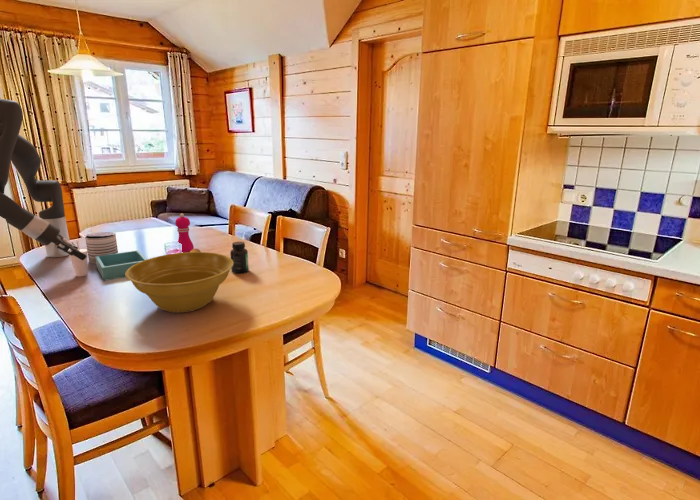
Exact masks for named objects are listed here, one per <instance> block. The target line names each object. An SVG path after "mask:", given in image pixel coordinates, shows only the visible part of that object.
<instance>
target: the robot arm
mask: <svg viewBox="0 0 700 500" xmlns="http://www.w3.org/2000/svg"><path fill="white" fill-rule="evenodd" d="M23 114H24V113H23V109H22V106H21V105H20V104H19V103H18V102H17V101H16V100H12V99H5V98H0V218H3V219H5V220H4V221H5V222H6V223H7V224H8V225H11V226H12V227H14V228H15V229H17V230H19V231H20V232H22V233H24V235H26V236H28V237H29V238H31V239H32V240H34V241H36V242H38V243H40V244H42V245H43V246H45V247H44V249H45V252H46V257H48V258H61V257H67V256H70V255H71V256H72V255H74V256H76V257H77V258H79V259H81V260H84V259H85V258H86V257H87V258H88V255H87V256H86V255H85V254H83V253H81V252H80V251H78V250H77V249H78V247H77V246H76V244H74V242H72V241H71V239H70V237H69V231H68V225H67V220H66V214H65V205H64V198H63V197H64V196H63V188H62V185H61V183H60V182H59V181H58V180H56V179H55V180H52V179H48V180H46V179H44V180H43V179H42V180H39V179H37V177H36V175H37V173H38V171H39V169H40V167H41V165H42V159H41V157H40V155H39V153H38V150H37V149H36V147H35V146H34V144H32V143H31V142H30V141H29V140H28V139H26V138H25V137H23V136H22V135H20V131H21V128H22V124H23V118H24V115H23ZM11 163H12V165H13V166H14V168H15V169H16V170H17V173H19V175H20V177H21V179H22V182H23V183H24V185H25V186H26V189H27V192H28V193H29V195H30V197H31V198H32V200H33V201H35V202H37V203H50V202H51V203H52V204H51V206H50V207H47V208H44V209H42V210H40V211H39V212H38V216H37V215H35V214H34V213H33V212H31V211H29V210H27V209H26V208H24V207H23V206H21V205H20V204H18V202H16V201H15V200H14V199H12V198H11V197H9V196H8V195H7V194H5V188H6V185H7V184H8V181H9V177H10V176H9V175H10V168H11ZM79 249H81V248H80V247H79ZM71 250H72V251H71ZM70 251H71V252H70ZM68 254H70V255H68Z"/></svg>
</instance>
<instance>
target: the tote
mask: <svg viewBox="0 0 700 500" xmlns="http://www.w3.org/2000/svg"><path fill="white" fill-rule="evenodd" d="M95 257H96V263H97V264H96V263H95V264H96V269H97V270H98V272H99V274H100V275H101V277H102V279H103V280H104V281H108V280H115V279H121V278H126V276H125V273H126V271H127V270H128V269H129V268H130V267H131V266H133V265H135V264H137V263H139V262H141V261H144V260H147V259H148V258H146V256H144V254H143V253H142V252H141V251H140V250H138V249H137V250H130V251H123V252H122V251H121V252H118V253H115V254H108V255H101V256H95Z"/></svg>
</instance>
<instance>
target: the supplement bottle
mask: <svg viewBox="0 0 700 500" xmlns="http://www.w3.org/2000/svg"><path fill="white" fill-rule="evenodd" d="M245 244H246V243H245V242H244V241H233V242H232V243H231V245H232V246H231V247H232V249H231V250H230V251H229V253H230V257H229V258H231V259H232V260H233V262H234V265H233V267H232V268H231V269H230V270H231V273H232V274H235V275H236V274H237V275H242V274H247V273H248V272H249V269H250V267H249V252H248V249H247V248H246V245H245Z"/></svg>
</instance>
